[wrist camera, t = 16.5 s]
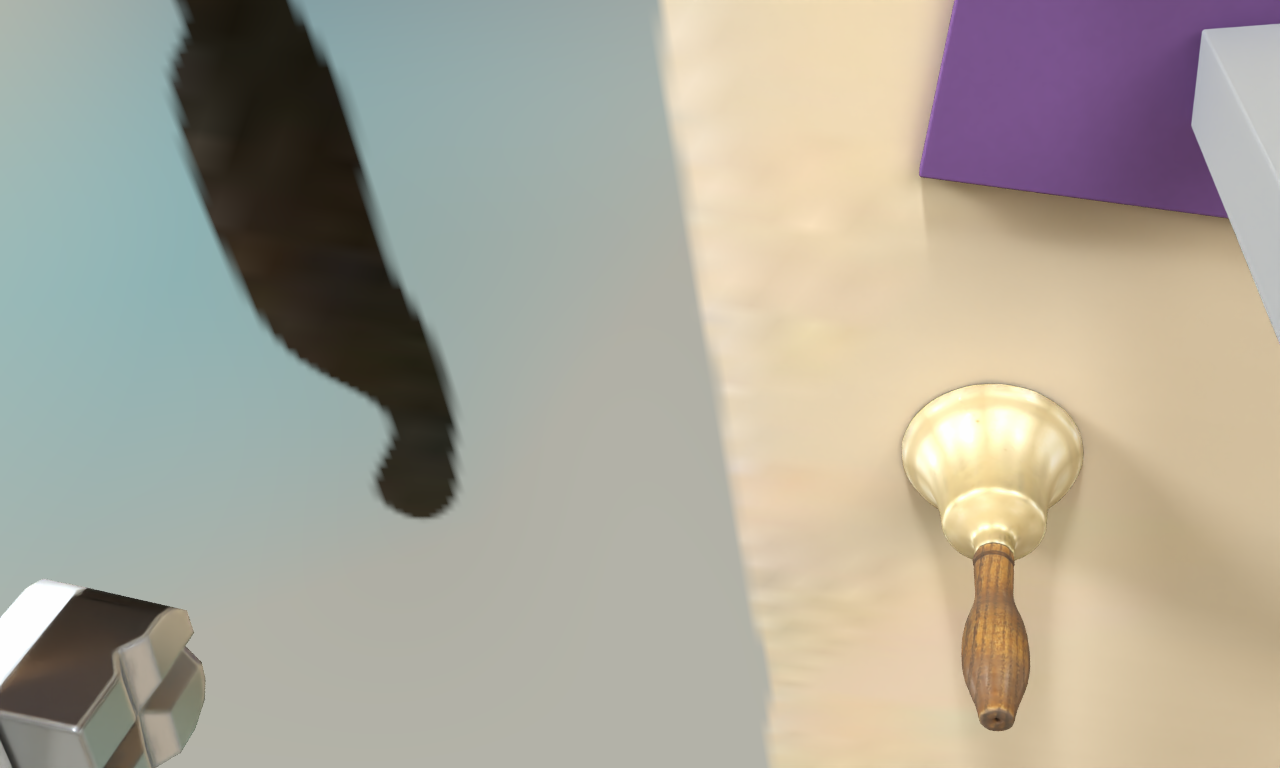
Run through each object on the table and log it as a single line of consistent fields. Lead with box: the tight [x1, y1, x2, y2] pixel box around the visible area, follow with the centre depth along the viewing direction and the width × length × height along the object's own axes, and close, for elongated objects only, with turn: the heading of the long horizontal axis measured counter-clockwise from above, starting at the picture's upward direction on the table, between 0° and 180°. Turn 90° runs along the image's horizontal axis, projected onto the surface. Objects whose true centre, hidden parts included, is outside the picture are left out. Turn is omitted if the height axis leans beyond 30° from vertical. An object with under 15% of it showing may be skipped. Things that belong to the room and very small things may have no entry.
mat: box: [919, 0, 1280, 218], centre depth 44 cm, size 12×22×1 cm, turn 87°
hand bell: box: [902, 384, 1083, 731], centre depth 50 cm, size 8×8×16 cm
